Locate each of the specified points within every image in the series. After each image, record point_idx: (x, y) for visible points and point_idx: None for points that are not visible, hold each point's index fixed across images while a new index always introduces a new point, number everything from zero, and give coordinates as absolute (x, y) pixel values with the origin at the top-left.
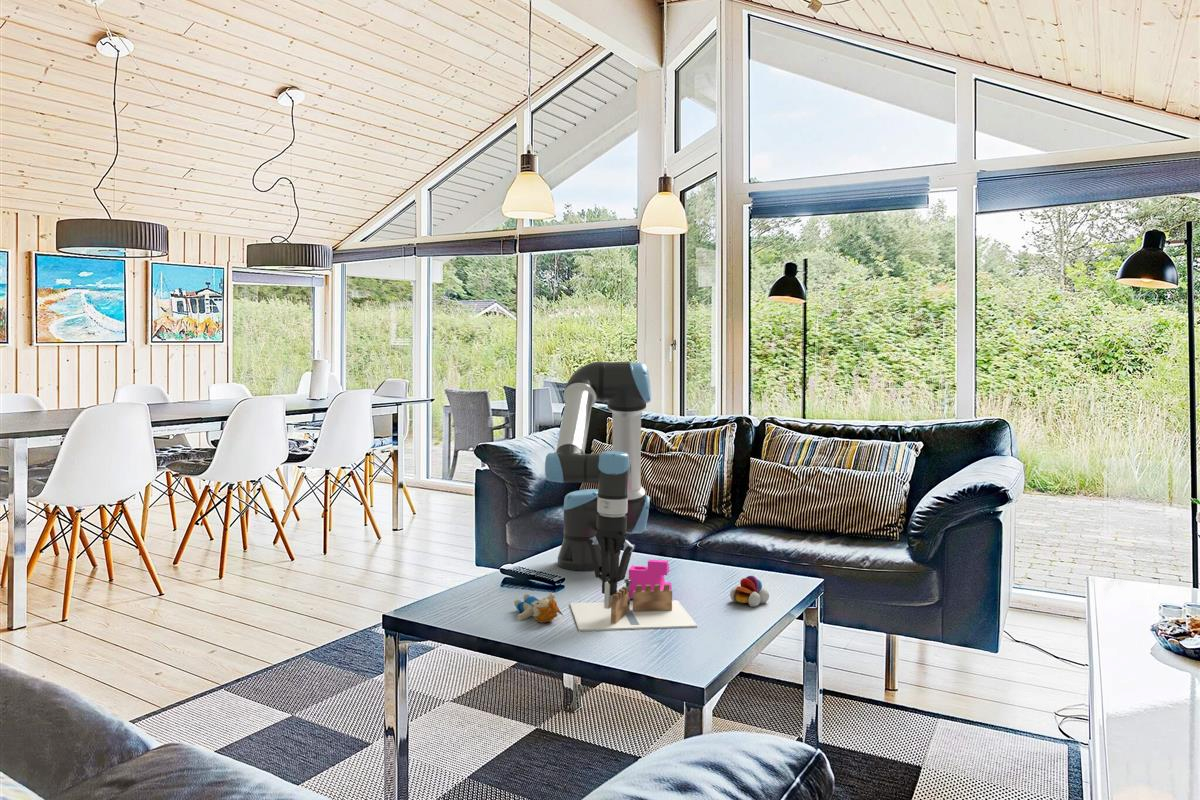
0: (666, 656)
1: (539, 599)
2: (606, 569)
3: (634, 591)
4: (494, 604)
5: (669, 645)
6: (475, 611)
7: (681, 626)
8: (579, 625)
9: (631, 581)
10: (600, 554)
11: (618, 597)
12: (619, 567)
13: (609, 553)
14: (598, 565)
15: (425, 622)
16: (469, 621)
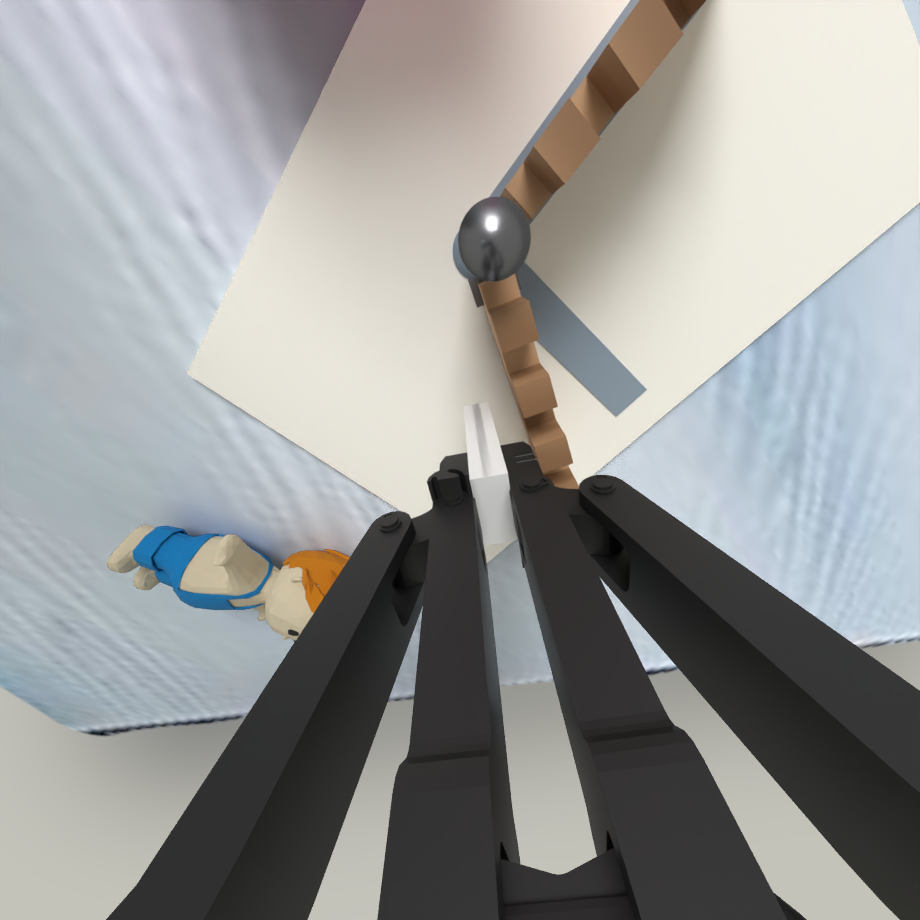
0: (848, 548)
1: (230, 590)
2: (489, 613)
3: (521, 191)
4: (59, 560)
5: (838, 474)
6: (120, 626)
7: (860, 250)
8: None
9: (522, 215)
10: (312, 716)
11: (574, 478)
12: (669, 647)
13: (500, 778)
14: (396, 647)
15: (165, 718)
16: (208, 671)
